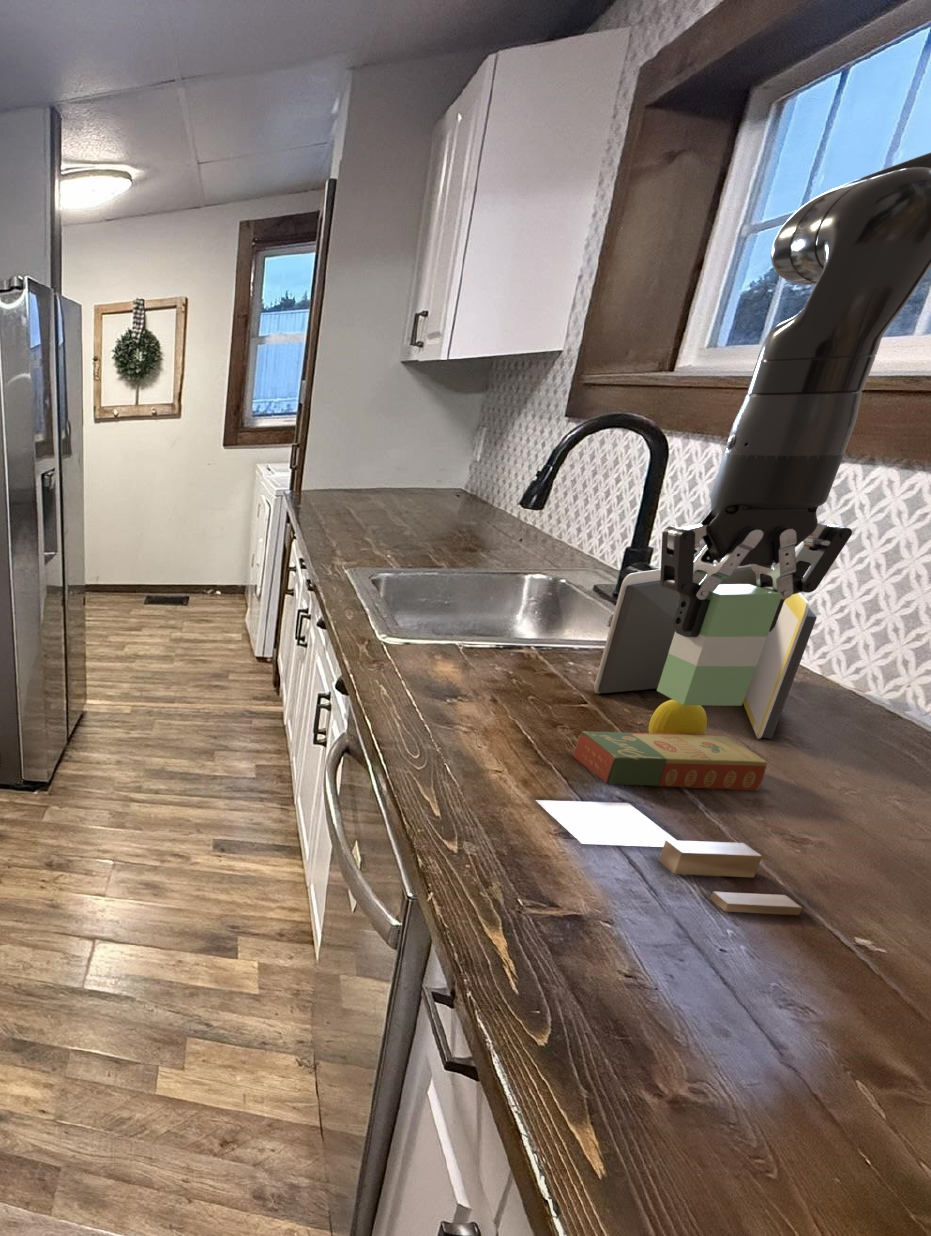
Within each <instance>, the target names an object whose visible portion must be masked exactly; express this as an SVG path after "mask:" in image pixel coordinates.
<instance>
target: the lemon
mask: <svg viewBox="0 0 931 1236" xmlns="http://www.w3.org/2000/svg"><path fill="white" fill-rule="evenodd" d="M707 726H708V717H707V712H706V710H705V709H704V707H703V706H702V705H682V704H680V703H679V702H677V701H675V700H673V699H669V700H666V701H665V702H662V703H661V704H660V705H659V706H658V707H657V708H655V711H654V712H653V713H652V716H651V718H650V720H649V723H648V733H661V734H706V731H707V728H708V727H707Z"/></svg>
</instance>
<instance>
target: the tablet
mask: <svg viewBox="0 0 931 1236" xmlns="http://www.w3.org/2000/svg"><path fill="white" fill-rule="evenodd" d="M717 564H719V562H717V561H716V560H714V562H713V565H717ZM660 576H661V568H657V569H651V570H645V571H644V570H643V571H637V572H631V573H629V574H627V575H626V576H625V577H624V578H623V580H622V582H621V586H620V589H619V592H618V596H617V600H616V605H615V607H614V610H613V611H614V612H613V614H612V618H611V622H610V626H609V630H608V633H607V637H606V641H605V643H604V648H603V650H602V651H603V652H602V654H601V659H600V663H599V667H598V669H597V674H596V677H595V681H594V685H593V691H594V693H595V694H599V695H600V694H609V693H610V694H611V693H622V692H632V691H642V690H643V691H644V690H653V689H654V690H655V689H657V688H658V685H659V682H660V679H661V675H662V672H663V669H664V666H665V663H666V660H667V657H668V653H669V649H670V646H671V643H672V640H673V637H674V634H675V628H673V624H672V622H673V619H674V617H675V616H674V615H675V613H676V609H677V606H678V603H679V600H680V594H679V593H678V592H676V591H674V590H671V589H668V588H665V587H662V586H661V584H660ZM720 584H750V585H754V586H757V582H756V573H755V572H754V571H753V570H752V568H751V564H750V565H745V566H738V567H737V568H736V570H735V571H734V572H733V573H732V575H731V576H730V577H728V578H725V579H723V580H722V581H721V583H720ZM817 618H818V617H817V615H816V614H815V613H814V612H813V611H812V609H811V608H810V602H809V600H807V598H806V597H805V596H804V594H802V592H800V593H796V594H793V595H791V596H790V597H789V598H787V599H786V600H785V601H784V603H783V606H782V609H781V611H780V614H779V616H778V620H777V622H776V625H775V627H774V628H773V629H772V631H771V632H768V635H767V639H766V641H765V644H764V647H763V650H762V652H761V655H760V658H759V661H758V663H757V666H756V668H755V671H754V673H753V676H752V679H751V682H750V684H749V687H748V690H747V692H746V695H745V698H744V701H743V703H742V705H743V707H744V709H745V712H746V714H747V717H748V719H749V721H750V724H751V727H752V729H753V731H754V734H755V737H756V739H759V740H761V738H763V739H772V738H773V736H774V733H775V731H776V728H777V725H778V722H779V720H780V717H781V715H782V712H783V709H784V707H785V704H786V701H787V698H788V696H789V693H790V691H791V688H792V685H793V683H794V680H795V677H796V674H797V673H798V669H799V666H800V664H801V661H802V659H803V656H804V653H805V651H806V648H807V646H808V642H809V639H810V637H811V635H812V632H813V629H814V627H815V624H816V621H817Z"/></svg>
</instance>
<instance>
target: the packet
mask: <svg viewBox="0 0 931 1236" xmlns="http://www.w3.org/2000/svg"><path fill="white" fill-rule="evenodd" d="M781 597H782V594H781V593H777V592H774V591H770V590H767V589H764V588H760V587H757V586H754V585H750V584H719V585H718V587H717V588H716V589H715V590H714V592H713V593H712V594H711V596H710V597H709V598H707V600H710V603H709V606H708V609H707V613H706V616H705V619H704V622H703V625H702V628H701V631H700V634H699V635H698V636H697V637H685V636H682V635H680V634H677V633H676V631H675V634H674V637H673V640H672V643H671V646H670V649H669V653H668V657H667V660H666V663H665V666H664V669H663V672H662V675H661V679H660V682H659V685H658V688H656V692H658V693H660V694H661V695H664V696H666V697H668V698H669V699H670V700H672V699H673V700H675V701H677V702H679V703H680V704H682V705H700V706H719V707H720V706H724V707H726V706H729V707H730V706H731V707H733V706H735V707H737V706H739V707H741V706H743V701H744V698H745V695H746V692H747V690H748V687H749V684H750V682H751V679H752V676H753V673H754V671H755V668H756V666H757V663H758V661H759V658H760V655H761V652H762V650H763V647H764V644H765V641H766V639H767V635H768V632H769V630H770V627H771V624H772V622H773V619H774V616H775V613H776V611H777V608H778V605H779V602H780V600H781Z"/></svg>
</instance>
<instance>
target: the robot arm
mask: <svg viewBox="0 0 931 1236" xmlns="http://www.w3.org/2000/svg"><path fill="white" fill-rule="evenodd" d="M770 260H771V261H770V262H771V265H772V267H773V269H774V271H775V272H776V274H778V275H779V277H781V278H782V279H784V280H786V281H788V282H790V283H793V284H797V285H808V286H814V287H813V289H812V291H811V292H810V294H809V296H808V298H807V300H806V301H805V304H804V306H803V307H802V308H801V310H800V311H799V312H798V313H797V314H796V315H794V316H793V317H791V318H789V319H787V320H784V321H782V322H780V323H779V324H776V326H774V327H773V328H771V330H770V331H769V332H768V334H767V335H766V337H765V339H764V341H763V343H762V346H761V348H760V351H759V352H758V356H757V360H756V363H755V366H754V369H753V372H752V375H751V378H750V381H749V384H748V388H747V391H746V395H745V397H744V400H743V402H742V404H741V406H740V408H739V410H738V412H737V414H736V416H735V419H734V420H733V424H732V426H731V429H730V432H729V435H728V439H727V442H726V445H725V449H724V451H723V454H722V457H721V460H720V463H719V467H718V470H717V473H716V476H715V479H714V482H713V485H712V490H711V492H710V496H709V498H710V508H709V511H708V513H707V514H705V516H704V517H703V518H702V519H701V521H700V522H699V523H697V524H693V525H688V526H682V527H678V526H675V525H669V526H667V527H665V528H664V529H663V530H662V532H661V555H660V569H661V576H660V584H661V586H662V587H665V588H668V589H671V590H674V591H676V592H678V593H679V594H680V600H679V603H678V606H677V609H676V613H675V615H674V616H675V617H674V619H673V622H672V624H673V628H675V631H676V633H677V634H680V635H682V636H685V637H697V636H698V635H699V634H700V631H701V628H702V625H703V622H704V619H705V616H706V613H707V609H708V606H709V603H710V600H707V598H709V597H710V596H711V594H712V593H713V592H714V590H715V589H716V588H717V587H718V585H719V584H720V583H721V581H722V580H723V579H725V578H728V577H730V576H731V575H732V573H733V572H734V571H735V570H736V568H737V567H738V566H745V565H750V564H751V568H752V570H753V571H754V572H755V573H756V582H757V587H760V588H764V589H767V590H770V591H774V592H777V593H781V594H782V597H781V600H780V602H779V605H778V608H777V611H776V613H775V616H774V619H773V622H772V624H771V627H770V630H769V632H771V631H772V629H773V628H774V627H775V625H776V622H777V620H778V616H779V614H780V611H781V609H782V606H783V603H784V601H785V600H786V599H787V598H789V597H790V596H791V595H793V594H796V593H806V594H810V593H813V592H814V591H816V590H817V589H818V587H819V586H820V584H821V583H822V581H823V579H824V577H825V576H827V573H828V571H829V570H830V569H831V567H832V566H833V564H834V563H835V561H836V560H837V558H838V556H839V555H840V554H841V552H842V550H843V549H844V548H845V546H846V545H847V543H848V541H849V540H850V538H851V536H852V534H853V530H852V529H851V528H850V527H845V526H842V525H837V524H829V523H819V520H818V515H817V510H818V508H819V507H820V506H822V505H824V504H825V503H827V501H828V498H829V496H830V493H831V490H832V487H833V485H834V482H835V480H836V477H837V473H838V471H839V468H840V466H841V464H842V461H843V458H844V456H845V452H846V450H847V447H848V444H849V442H850V439H851V437H852V434H853V431H854V429H855V425H856V423H857V419H858V414H859V409H860V404H861V399H862V396H863V392H862V391H864V389H865V387H866V384H867V382H868V378H869V376H870V373H871V370H872V368H873V365H874V363H875V360H876V357H877V355H878V351H879V348H880V345H881V341H882V339H883V337H884V335H885V334H886V332H887V330H888V329H889V328H890V326H891V325H892V323H894V321H895V320H896V318H897V317H898V315H899V314H900V313H901V311H902V310H903V309H904V307H905V306H906V304H907V303H908V301H909V300H910V299H911V297H912V295H913V294H914V292H915V290H916V289H917V288H918V286H919V285H920V283H921V281H922V280H923V278H924V277H925V275H926V274H927V272H928V271H929V269H930V268H931V152H928V153H926V154H922V155H920V156H916V157H914V158H911V159H908V160H906V161H903V162H900V163H898V164H895V165H892V166H888V167H886V168H884V169H882V170H878V171H876V172H873V173H871V174H868V175H866V176H862V177H861V178H858V179H855V180H852V181H849V182H847V183H844V184H843V185H840V186H838V187H835V188H832V189H830V190H828V191H826V192H824V193H821V194H820V195H818V196H816V197H814V198H813V199H811V200H810V201H808V202H807V203H805V204H804V205H802V206H801V207H800V208H799V209H798V210H797V211H795V212H794V213H793V214H792V215H791V216H790V217H789V218H788V219H787V220H786V222H785V223H784V224H783V225H782V226H781V228H780V229H779V230H778V232H777V235H776V236H775V238H774V240H773V243H772V246H771V250H770ZM701 540H702V541H703V542H704V544H705V545H704V547H703V548H702V550H701V551H700V553H699V554H698V555H697V556H696V557H695V549H699V548H700V546H701V543H700V541H701ZM802 542H803V544H802V547H801V548H800V550H799V552H798V553H797V555H796V547H798V546H799V545H800V544H801V543H802ZM714 561H717V562H719V564H717V565H713V562H714Z"/></svg>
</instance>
